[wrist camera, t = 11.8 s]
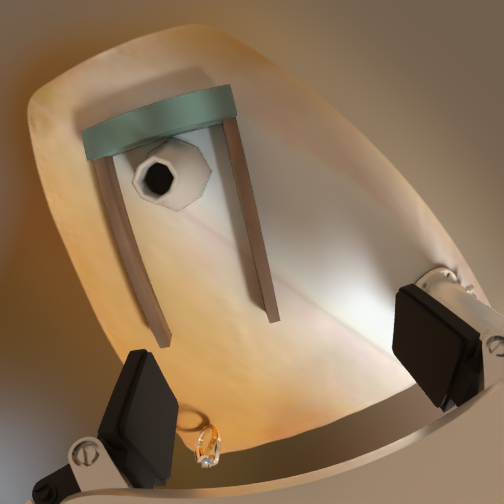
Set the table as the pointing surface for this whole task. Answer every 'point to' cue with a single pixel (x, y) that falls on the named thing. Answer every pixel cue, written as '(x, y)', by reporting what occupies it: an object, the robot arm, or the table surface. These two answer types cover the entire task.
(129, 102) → the table surface
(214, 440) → the ring
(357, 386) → the table surface
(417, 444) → the robot arm
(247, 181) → the guide channel
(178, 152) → the flask
